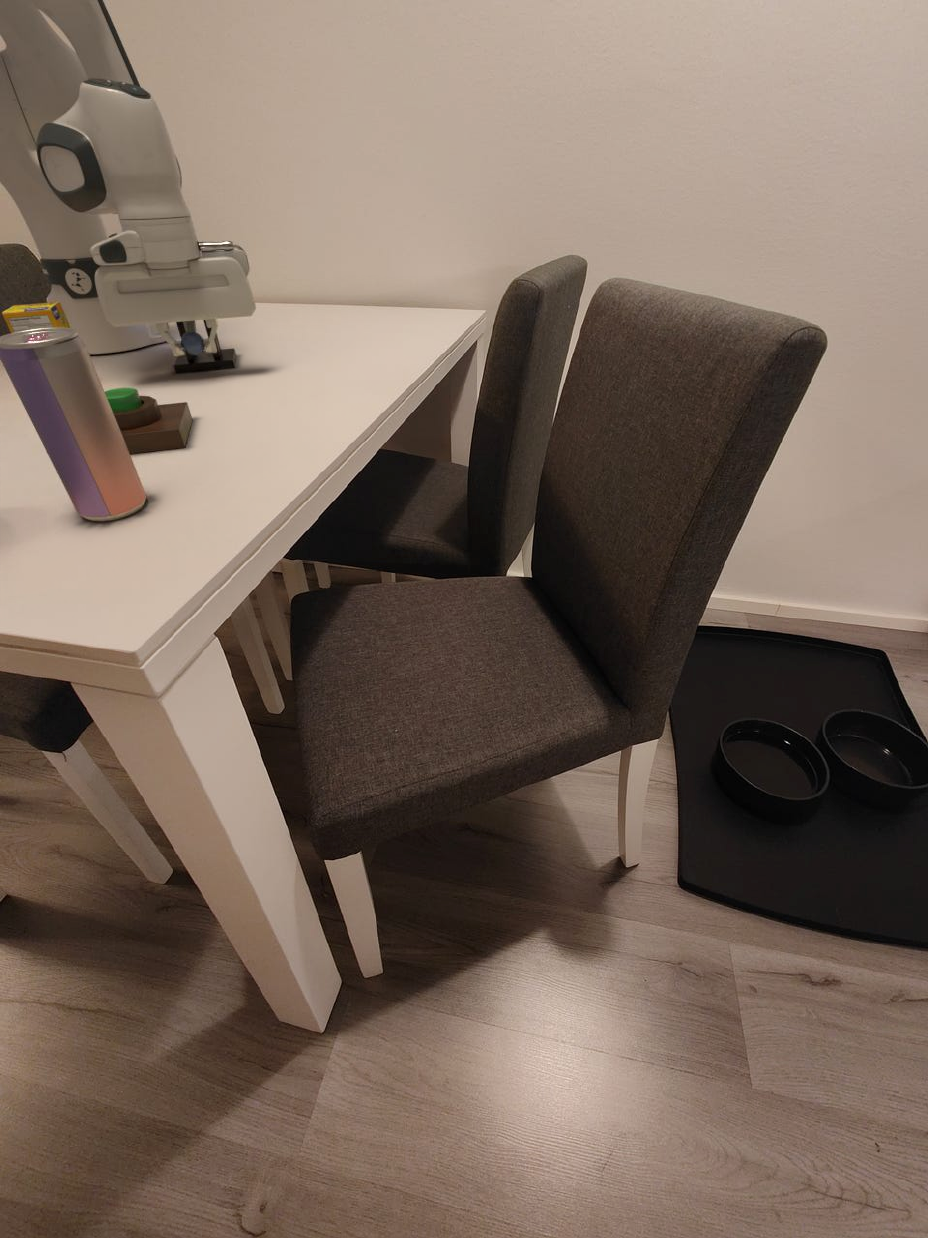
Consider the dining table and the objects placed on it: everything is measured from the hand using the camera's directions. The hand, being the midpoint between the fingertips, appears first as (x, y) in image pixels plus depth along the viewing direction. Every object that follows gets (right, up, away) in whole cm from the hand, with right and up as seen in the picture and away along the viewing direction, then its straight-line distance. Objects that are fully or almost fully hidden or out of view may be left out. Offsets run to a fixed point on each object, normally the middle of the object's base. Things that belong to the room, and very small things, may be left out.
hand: (195, 353), depth 85 cm
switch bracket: (-2, +3, +9) cm, 9 cm away
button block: (+1, -18, -17) cm, 25 cm away
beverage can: (+7, -30, -31) cm, 44 cm away
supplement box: (-19, -5, 0) cm, 20 cm away
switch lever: (-1, +5, +2) cm, 6 cm away
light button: (+1, -15, -20) cm, 25 cm away
